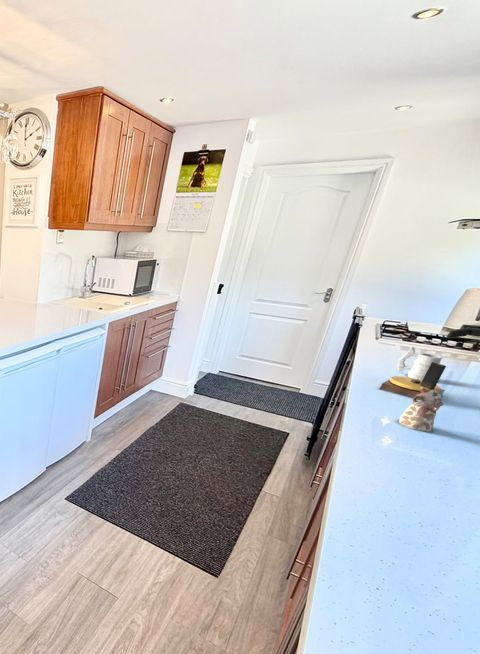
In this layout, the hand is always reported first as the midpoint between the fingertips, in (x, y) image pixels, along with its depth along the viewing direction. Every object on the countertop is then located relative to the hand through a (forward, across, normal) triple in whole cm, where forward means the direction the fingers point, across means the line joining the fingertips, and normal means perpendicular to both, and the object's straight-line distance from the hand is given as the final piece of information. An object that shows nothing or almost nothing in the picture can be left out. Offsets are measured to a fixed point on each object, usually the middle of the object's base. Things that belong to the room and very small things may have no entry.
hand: (470, 344), depth 138 cm
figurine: (+38, -24, -10) cm, 46 cm away
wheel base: (+9, +1, -20) cm, 22 cm away
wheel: (+8, +1, -18) cm, 20 cm away
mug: (-12, +17, -28) cm, 35 cm away
